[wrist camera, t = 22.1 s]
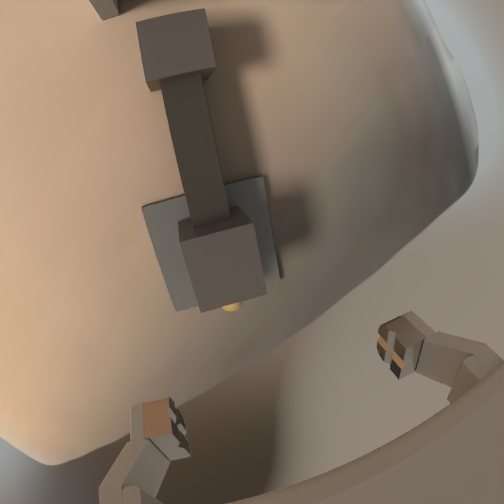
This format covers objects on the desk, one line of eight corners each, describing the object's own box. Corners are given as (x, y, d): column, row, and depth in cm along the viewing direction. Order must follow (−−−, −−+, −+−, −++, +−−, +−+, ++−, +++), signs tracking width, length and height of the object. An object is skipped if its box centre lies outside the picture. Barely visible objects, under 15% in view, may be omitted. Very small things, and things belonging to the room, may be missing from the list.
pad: (141, 206, 21) (141, 207, 21) (261, 175, 23) (263, 176, 22) (175, 308, 25) (176, 311, 25) (278, 279, 26) (280, 281, 26)
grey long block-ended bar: (138, 42, 16) (130, 20, 12) (202, 28, 17) (209, 4, 13) (200, 298, 24) (206, 330, 20) (253, 282, 25) (270, 311, 21)
